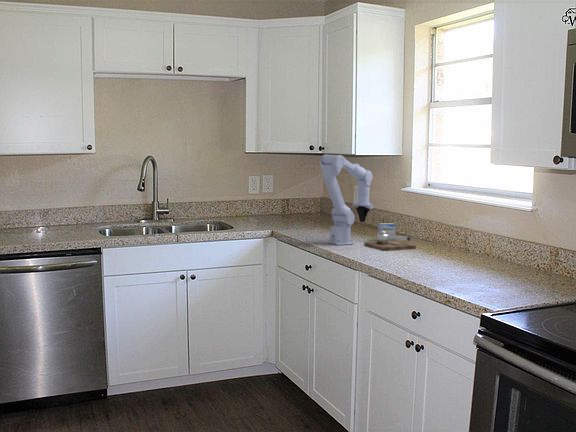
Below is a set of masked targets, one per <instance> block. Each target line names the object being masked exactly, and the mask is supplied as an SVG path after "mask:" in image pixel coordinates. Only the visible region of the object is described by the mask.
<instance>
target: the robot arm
mask: <svg viewBox="0 0 576 432" xmlns="http://www.w3.org/2000/svg"><path fill="white" fill-rule="evenodd" d="M319 165H320V169H321V172H322V178H323V180H324V181H323V182H324V183H325V186H326V189H327V191H328V195H329V197H330V199H331V202H332V206H333V209H331V216H332V217H331V218H332V222H333V223H334V224H333V225H332V226H331V227H330V230H329V241H328V243H329V244H333V245H337V246H343V245H344V246H345V245H354V242H351V231H352V230H351V227H352V226H353V224H354V223H355V220H356V218H355V217H356V216H355V214H354V212H353V211H352V209H351V208H350V207H349V206H348V205H346V202H345V199H344V196H343V195H342V191H341V189H340V186H339V182H338V179H337V176H338V175H339V174H340V173H341V170H342V169H344V170H347V171H348V173H349V175H351V176H352V177H354V178H355V180H356V181H357V195H356V196H357V200H356V201H352V206H353V207H354V206H355V210H356V213H357V215H358V219H359V223H365V222H366V219H367V215H368V213H369V211H370V210H372V209H373V210H374V204H372V203H370V189H371V188H370V187H371V184H372V180H373V178H374V177H373V173H372V171H371V170H368V169H365V167H362V166H360V163H351V162H350V161H349V160H347V159H346V158H345V156H343V155H341V154H327V153H326V154H322V156H321V158H320V162H319Z"/></svg>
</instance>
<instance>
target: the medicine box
mask: <svg viewBox="0 0 576 432" xmlns="http://www.w3.org/2000/svg"><path fill="white" fill-rule="evenodd" d="M376 229H377V230H376V231H377V233H376V234H378V233H380V231H385V234H388V236H396V224H395V223H390V222H388V223H385V222H384V223H380V222H379V223H377V228H376ZM390 240H394V239H388V241H390Z"/></svg>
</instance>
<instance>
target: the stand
mask: <svg viewBox="0 0 576 432" xmlns="http://www.w3.org/2000/svg"><path fill="white" fill-rule="evenodd" d="M363 243H364V244H363V245H364V246H365V247H368V248H373V249H375V250H376V249H377V250H380V251H384V252H388V251H389V252H390V251H401V250H415V249H417V248H416V247H417V245H415V244H412V243H407V242H403V241H401V240H390V241H388V244H378V243H377V240H376V241H364V242H363Z"/></svg>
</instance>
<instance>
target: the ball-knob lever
mask: <svg viewBox="0 0 576 432" xmlns="http://www.w3.org/2000/svg"><path fill="white" fill-rule="evenodd" d="M376 234H377V233H376ZM376 236H377V237H376V241H377V243H378V244H388V239H394V240H396V241H407V242H408V241H410V240H411V237H410V236H406V235H405V236H401V235H395V236H388V234H385V231H380V233H378V234H377V235H376Z"/></svg>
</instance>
